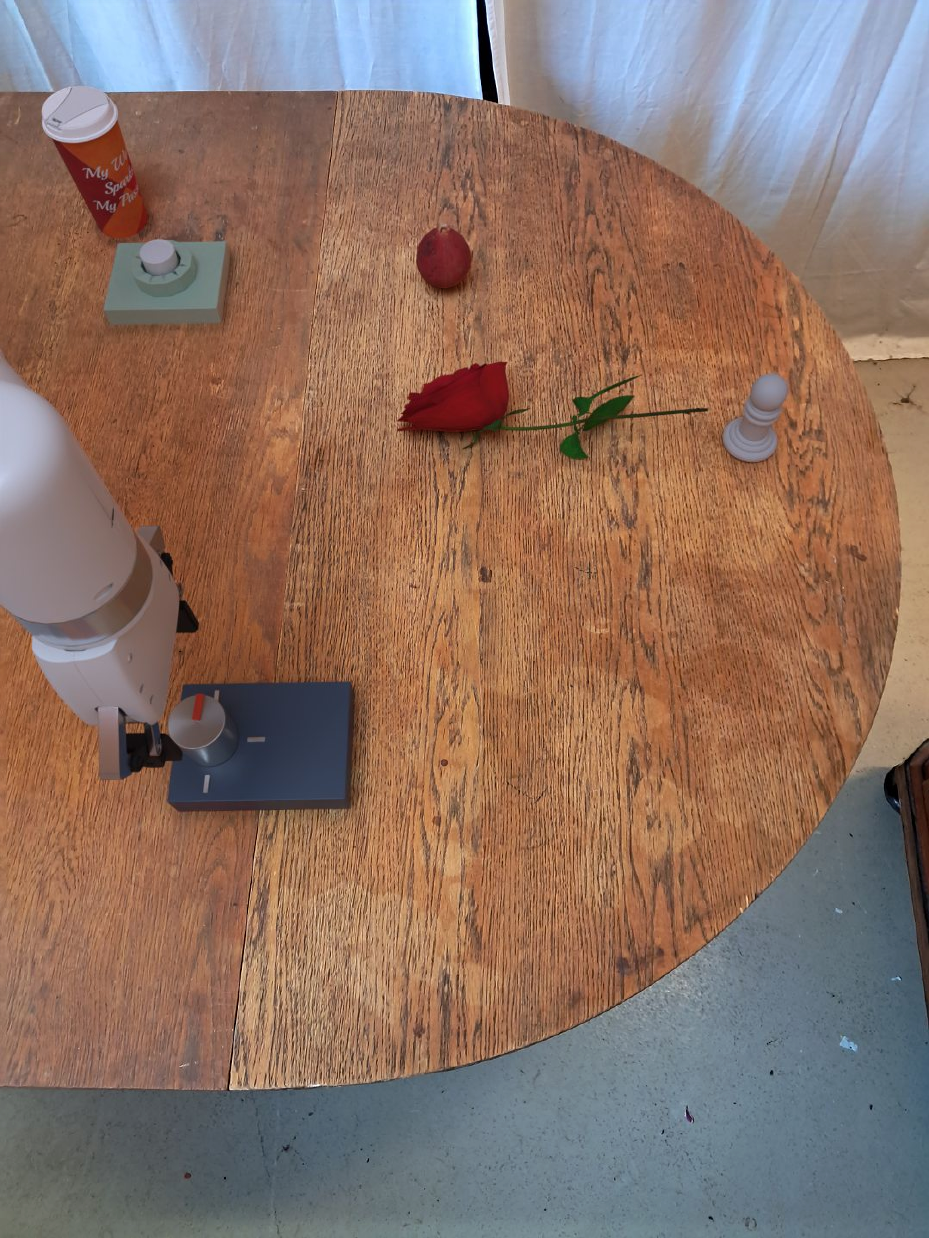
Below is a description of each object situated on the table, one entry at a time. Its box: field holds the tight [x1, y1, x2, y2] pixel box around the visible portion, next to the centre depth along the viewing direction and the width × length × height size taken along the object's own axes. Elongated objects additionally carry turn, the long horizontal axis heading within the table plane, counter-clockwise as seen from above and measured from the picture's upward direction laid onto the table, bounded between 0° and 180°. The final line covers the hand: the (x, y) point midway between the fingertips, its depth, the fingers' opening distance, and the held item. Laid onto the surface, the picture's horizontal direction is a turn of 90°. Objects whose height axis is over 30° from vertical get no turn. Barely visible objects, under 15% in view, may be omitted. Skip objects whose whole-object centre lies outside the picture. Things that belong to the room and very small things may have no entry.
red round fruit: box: [415, 222, 472, 289], centre depth 95 cm, size 6×6×8 cm
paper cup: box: [41, 85, 148, 239], centre depth 97 cm, size 8×8×14 cm
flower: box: [396, 361, 709, 460], centre depth 86 cm, size 9×9×30 cm
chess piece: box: [722, 372, 789, 463], centre depth 85 cm, size 5×5×9 cm
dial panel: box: [167, 680, 356, 813], centre depth 74 cm, size 15×10×3 cm, turn 91°
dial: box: [167, 694, 239, 766], centre depth 70 cm, size 4×4×5 cm
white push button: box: [140, 238, 179, 276], centre depth 95 cm, size 4×4×2 cm
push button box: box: [102, 239, 232, 326], centre depth 97 cm, size 12×10×4 cm
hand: (169, 690), depth 63 cm, fingers open, 9 cm apart
